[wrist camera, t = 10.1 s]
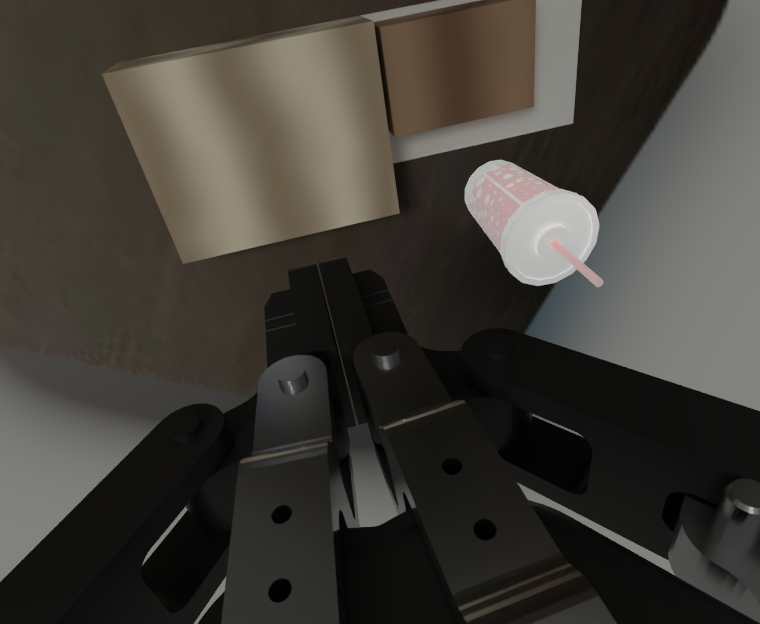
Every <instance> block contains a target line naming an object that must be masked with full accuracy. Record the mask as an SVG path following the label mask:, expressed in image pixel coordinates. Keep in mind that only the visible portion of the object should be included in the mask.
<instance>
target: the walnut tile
mask: <svg viewBox="0 0 760 624" xmlns="http://www.w3.org/2000/svg"><path fill="white" fill-rule="evenodd" d="M535 23H536V0H479V1H474V2H469V3H464V4H459V5H454V6H449V7H445V8H440V9H435V10H430V11H425V12H420V13H415V14H410V15H405V16H401V17H396V18H391V19H386V20H381V21H376V22H374V28H375V35H376V43H377V50H378V57H379V65H380V72H381V79H382V87H383V94H384V102H385V109H386V116H387V124H388V131H389V132H390V133H391V134H392V135H393V136H394V138H399V137H403V136H407V135H412V134H416V133H421V132H425V131H430V130H434V129H438V128H443V127H447V126H452V125H456V124H460V123H465V122H469V121H474V120H478V119H483V118H487V117H491V116H496V115H500V114H505V113H509V112H513V111H518V110H522V109H527V108H531V107H534V75H535Z"/></svg>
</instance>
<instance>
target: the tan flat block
mask: <svg viewBox="0 0 760 624" xmlns="http://www.w3.org/2000/svg"><path fill="white" fill-rule="evenodd" d="M102 76H103V78H104V80H105V83H106V85H107V87H108V90H109V92H110V94H111V97H112V99H113V101H114V104H115V106H116V108H117V111H118V113H119V115H120V118H121V120H122V122H123V125H124V127H125V129H126V132H127V134H128V136H129V139H130V141H131V143H132V146H133V148H134V150H135V153H136V155H137V157H138V160H139V162H140V164H141V167H142V169H143V171H144V174H145V176H146V178H147V181H148V183H149V185H150V188H151V190H152V192H153V195H154V197H155V199H156V202H157V204H158V206H159V209H160V211H161V213H162V216H163V218H164V220H165V223H166V225H167V227H168V230H169V232H170V234H171V237H172V239H173V241H174V244H175V246H176V248H177V251H178V253H179V255H180V258H181V260H182V262H183V264H185V263H189V262H193V261H197V260H202V259H206V258H210V257H215V256H219V255H223V254H227V253H232V252H236V251H240V250H245V249H249V248H253V247H257V246H262V245H266V244H270V243H275V242H279V241H283V240H288V239H292V238H296V237H300V236H305V235H309V234H313V233H318V232H322V231H326V230H330V229H335V228H339V227H343V226H348V225H352V224H356V223H360V222H365V221H369V220H373V219H378V218H382V217H386V216H390V215H395V214H399V213H400V212H399V205H398V197H397V190H396V183H395V175H394V168H393V161H392V153H391V146H390V138H389V131H388V124H387V116H386V109H385V102H384V94H383V87H382V79H381V72H380V65H379V57H378V50H377V43H376V35H375V28H374V21H373V20H370V19H367V18H365V17H362V16H355V17H350V18H345V19H340V20H335V21H330V22H324V23H319V24H314V25H309V26H304V27H299V28H293V29H288V30H283V31H278V32H273V33H268V34H263V35H257V36H252V37H247V38H242V39H237V40H232V41H226V42H221V43H216V44H211V45H206V46H201V47H195V48H190V49H185V50H180V51H175V52H170V53H165V54H159V55H154V56H149V57H144V58H139V59H134V60H128V61H123V62H118V63H117V64H115V65H114V66H112V67H111V68H110V69H108V70H107V71H105V72H104V73H102Z"/></svg>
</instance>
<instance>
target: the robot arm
mask: <svg viewBox="0 0 760 624" xmlns="http://www.w3.org/2000/svg"><path fill="white" fill-rule="evenodd" d="M318 263H319V267H320V271H321V275H322V279H323V284H324V288H325V292H326V296H327V300H328V304H329V308H330V312H331V316H332V320H333V324H334V329H335V333H336V337H337V341H338V345H339V349H340V353H341V357H342V361H343V365H344V368H345V372H346V376H347V380H348V384H349V388H350V392H351V396H352V400H353V404H354V408H355V412H356V415H357V419H358V423H359V424H363V423H368V426H369V430H370V434H371V438H372V442H373V446H374V450H375V454H376V456H377V459H378V462H379V464H380V467H381V470H382V473H383V475H384V478H385V481H386V483H387V486H388V489H389V492H390V494H391V497H392V500H393V502H394V505H395V508H396V510H397V513H398V516H396V517H394V518H392V519H391V520H389V521H387V522H386V523H384V524H382V525H379V526H376V527H359V518H358V510H357V501H356V494H355V485H354V476H353V468H352V459H351V455H350V451H349V449H350V440H349V435H348V430H347V428H349V427H353V426H356V424H355V419H354V415H353V411H352V407H351V403H350V399H349V394H348V390H347V386H346V382H345V378H344V373H343V369H342V365H341V361H340V357H339V353H338V348H337V344H336V340H335V336H334V332H333V328H332V324H331V320H330V316H329V312H328V308H327V304H326V300H325V296H324V292H323V289H322V285H321V281H320V277H319V273H318V269H317V265H316V263H314V264H310V265H306V266H302V267H298V268H293V269H289V270H288V274H289V281H290V289H289V290H285V291H281V292H276V293H272V295H271V296H270V298H269V300H268V302H267V303H266V305H265V321H266V322H265V326H266V345H267V365H268V368H267V369H266V370H265V372H264V373H263V374H262V376H261V378H260V380H259V384H258V392H257V394H255V395H254V396H253V397H252V398H251V399H249V400H248V401H246V402H245V403H243V404H241V405H239V406H237V407H235V408H233V409H231V410H230V411H228V412H226V413H224V414H222V412H221V411H220V409H218V408H217V407H215V406H213V405H210V404H193V405H189V406H186V407H183V408H181V409H179V410H176V411H175V412H173V413H171V414H170V415H168V416H167V417H166V418H165V419H163V420H162V421H161V422H160V423H159V424H158V425H157V426H156V427H155V428H154V429H153V430H152V431H151V432H150V433H149V434H148V435H147V436H146V437H145V438H144V439H143V440H142V441H141V442H140V443H139V444H138V445H137V446H136V447H135V448H134V449H133V450H132V451H131V452H130V453H129V454H128V455H127V456H126V457H125V458H124V459H123V460H122V461H121V462H120V463H119V464H118V465H117V466H116V467H115V468H114V469H113V470H112V471H111V472H110V473H109V474H108V475H107V476H106V477H105V478H104V479H103V480H102V481H101V482H100V483H99V484H98V485H97V486H96V487H95V488H94V489H93V490H92V491H91V492H90V493H89V494H88V495H87V496H86V497H85V498H84V499H83V500H82V501H81V502H80V503H79V504H78V505H77V506H76V507H75V508H74V509H73V510H72V511H71V512H70V513H69V514H68V515H67V516H66V517H65V518H64V519H63V520H62V521H61V522H60V523H59V524H58V525H57V526H56V527H55V528H54V529H53V530H52V531H51V532H50V533H49V534H48V535H47V536H46V537H45V538H44V539H43V540H42V541H41V542H40V543H39V544H38V545H37V546H36V547H35V548H34V549H33V550H32V551H31V552H30V553H29V554H28V555H27V556H26V557H25V558H24V559H23V560H22V561H21V562H20V563H19V564H18V565H17V566H16V567H15V568H14V569H13V570H12V571H11V572H10V573H9V574H8V575H7V576H6V577H5V578H4V579H3V580H2V581H1V582H0V624H194V622H195V621H196V619H197V618H198V616H199V615H200V613H201V612H202V610H203V609H204V608H205V606H206V605H207V603H208V602H209V600H210V599H211V597H212V596H213V594H214V593H215V591H216V590H217V588H218V587H219V585H220V584H221V583H222V581H223V580H224V578H225V577H226V585H225V591H224V592H223V594H222V595H221V596H220V597H219V598H218V599H217V600H216V601H215V602H214V603H213V604H212V605H211V607H210V608H209V609H208V611H207V612H206V613H205V614H204V616H203V617H202V619H201V620H200V621H199V623H198V624H760V411H757V410H754V409H751V408H748V407H745V406H742V405H739V404H736V403H733V402H730V401H727V400H724V399H721V398H718V397H715V396H711V395H708V394H705V393H702V392H699V391H696V390H693V389H690V388H687V387H684V386H681V385H678V384H675V383H672V382H669V381H665V380H662V379H660V378H656V377H653V376H650V375H647V374H644V373H641V372H638V371H635V370H632V369H629V368H626V367H623V366H620V365H617V364H614V363H611V362H607V361H605V360H601V359H598V358H595V357H592V356H589V355H586V354H583V353H580V352H577V351H574V350H571V349H568V348H565V347H562V346H559V345H556V344H552V343H549V342H546V341H543V340H540V339H537V338H534V337H531V336H528V335H525V334H522V333H519V332H516V331H513V330H509V329H501V328H494V329H486V330H482V331H479V332H477V333H475V334H473V335H471V336H470V337H469V338H468V339H467V340H466V341H465V342H464V344H463V346H462V350H461V351H435V350H430V349H426V348H423V347H421V346H419V344H418V342H417V341H416V340H415V339H414V338H412V337H411V336H409V335H408V333H407V331H406V329H405V327H404V324H403V322H402V320H401V318H400V315H399V313H398V311H397V309H396V306H395V304H394V302H393V300H392V297H391V295H390V293H389V291H388V288H387V286H386V284H385V281H384V279H383V277H381V276H380V275H378V274H376V273H375V272H373V271H372V270H367V271H362V272H358V273H354V274H352V272H351V269H350V266H349V263H348V260H347V258H346V256H343V257H339V258H335V259H331V260H326V261H322V262H318ZM532 414H535V415H537V416H540V417H542V418H545V419H547V420H549V421H552V422H554V423H556V424H559V425H561V426H563V427H566V428H568V429H571V430H573V431H575V432H577V433H579V434H580V435H582V436H583V437H584V438H583V437H581V436H578V435H576V434H574V433H571V432H569V431H567V430H564V429H562V428H559V427H557V426H555V425H552V424H550V423H547V422H545V421H543V420H540V419H538V418H536V417H534V416H532ZM517 482H518V483H520V484H522V485H523V486H526V487H527V488H529V489H531V490H533V491H535V492H537V493H539V494H541V495H543V496H545V497H547V498H549V499H551V500H553V501H555V502H557V503H558V504H561V505H562V506H564V507H566V508H568V509H570V510H572V511H574V512H576V513H578V514H580V515H582V516H584V517H586V518H588V519H589V520H591V521H593V522H595V523H597V524H599V525H601V526H603V527H605V528H607V529H609V530H611V531H613V532H615V533H617V534H619V535H621V536H622V537H624V538H626V539H628V540H630V541H632V542H634V543H636V544H638V545H640V546H642V547H644V548H646V549H648V550H650V551H652V552H653V553H655V554H657V555H659V556H661V557H663V558H665V559H667V560H669V562H670V565H671V568H672V570H673V572H674V574H675V575H673V574H671V573H669V572H667V571H666V570H664V569H662V568H660V567H659V566H657V565H655V564H653V563H651V562H650V561H648V560H646V559H644V558H643V557H641V556H639V555H637V554H635V553H634V552H632V551H630V550H628V549H627V548H625V547H623V546H621V545H619V544H617V543H616V542H614V541H612V540H610V539H609V538H607V537H605V536H603V535H602V534H600V533H598V532H596V531H594V530H593V529H591V528H589V527H587V526H585V525H584V524H582V523H580V522H578V521H577V520H575V519H573V518H571V517H570V516H568V515H566V514H564V513H562V512H560V511H558V510H556V509H553V508H551V507H548V506H546V505H543V504H539V503H536V502H533V501H529V500H527V498H526V497H525V495H524V493H523V491H522V490H521V488H520V487H519V485H518V484H517ZM185 506H186V508H187V509H188V510H187V512H186V513H185V514H184V515H183V517H182V518H181V519H180V520H179V521H178V523H177V524H176V525H175V526H174V528H173V529H172V530H171V531H170V533H169V534H168V535H167V536H166V537H165V539H164V540H163V541H162V542H161V544H160V545H159V546H158V547H157V548H156V550H155V551H154V552H153V553H152V555H151V556H150V557H149V558H148V559H147V561H146V562H145V563H144V565H143V566H142V564H143V561H144V559H145V557H146V555H147V553H148V551H149V550H150V549H151V547H152V546H153V545H154V544H155V543H156V541H157V540H158V539H159V538H160V536H161V535H162V534H163V533H164V532H165V531H166V529H167V528H168V527H169V526H170V524H171V523H172V522H173V521H174V520H175V518H176V517H177V516H178V515H179V514H180V512H181V511H182V510H183V509H184V507H185Z"/></svg>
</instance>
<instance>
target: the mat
mask: <svg viewBox="0 0 760 624" xmlns="http://www.w3.org/2000/svg"><path fill="white" fill-rule="evenodd" d="M474 1H479V0H438V1H433V2H427V3H422V4H417V5H412V6H407V7H402V8H397V9H391V10H386V11H381V12H376V13H371V14H366V15H360V16H362V17H365V18H367V19H370V20H373V21H374V22H376V21H381V20H386V19H391V18H396V17H401V16H405V15H410V14H415V13H420V12H425V11H430V10H435V9H440V8H445V7H449V6H454V5H459V4H464V3H469V2H474ZM581 3H582V0H536V23H535V75H534V107H531V108H527V109H522V110H518V111H513V112H509V113H505V114H500V115H496V116H491V117H487V118H483V119H478V120H474V121H469V122H465V123H460V124H456V125H452V126H447V127H443V128H438V129H434V130H430V131H425V132H421V133H416V134H412V135H407V136H403V137H399V138H394V136H393V135H392V134H391V133H390V132H389V138H390V146H391V153H392V161H393V163H398V162H402V161H407V160H411V159H415V158H420V157H424V156H429V155H433V154H438V153H442V152H447V151H451V150H456V149H460V148H465V147H469V146H474V145H478V144H483V143H487V142H492V141H496V140H501V139H505V138H510V137H514V136H518V135H523V134H527V133H532V132H536V131H541V130H545V129H550V128H554V127H559V126H563V125H568V124H572V123H573V117H574V103H575V88H576V74H577V60H578V46H579V31H580V17H581Z"/></svg>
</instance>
